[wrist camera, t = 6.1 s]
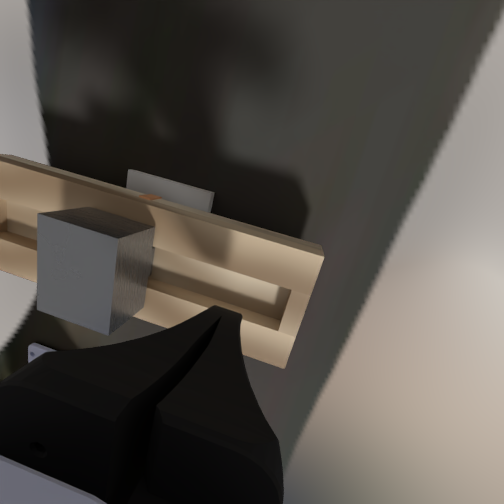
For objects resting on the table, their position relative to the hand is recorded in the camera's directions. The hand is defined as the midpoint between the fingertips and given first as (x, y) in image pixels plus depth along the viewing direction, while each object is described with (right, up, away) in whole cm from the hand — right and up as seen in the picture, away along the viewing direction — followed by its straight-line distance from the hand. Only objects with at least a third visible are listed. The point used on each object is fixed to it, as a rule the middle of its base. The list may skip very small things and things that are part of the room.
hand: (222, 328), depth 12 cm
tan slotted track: (-5, +4, +8) cm, 10 cm away
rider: (-6, +3, +5) cm, 8 cm away
